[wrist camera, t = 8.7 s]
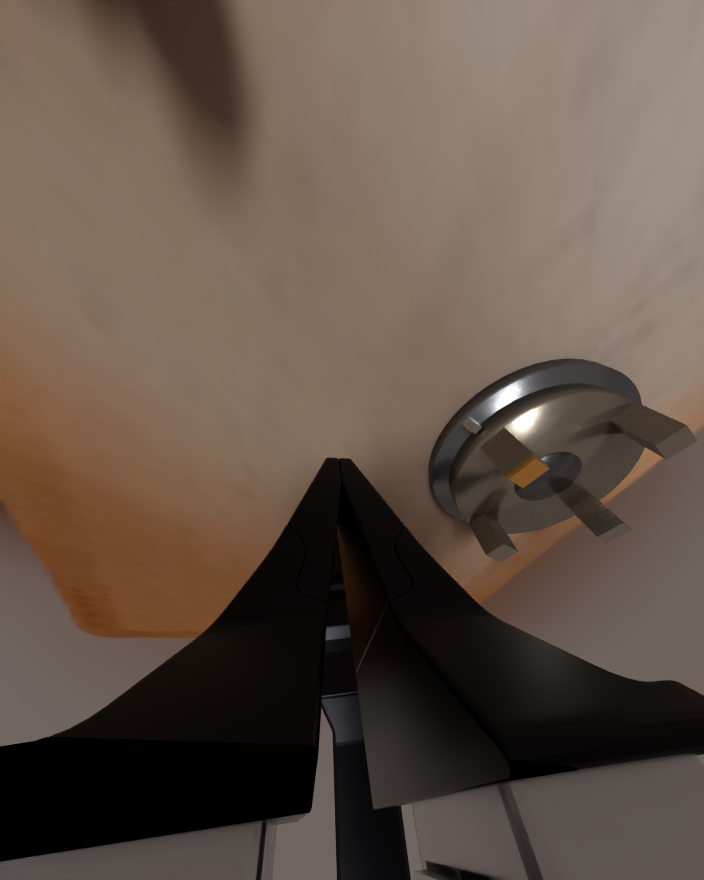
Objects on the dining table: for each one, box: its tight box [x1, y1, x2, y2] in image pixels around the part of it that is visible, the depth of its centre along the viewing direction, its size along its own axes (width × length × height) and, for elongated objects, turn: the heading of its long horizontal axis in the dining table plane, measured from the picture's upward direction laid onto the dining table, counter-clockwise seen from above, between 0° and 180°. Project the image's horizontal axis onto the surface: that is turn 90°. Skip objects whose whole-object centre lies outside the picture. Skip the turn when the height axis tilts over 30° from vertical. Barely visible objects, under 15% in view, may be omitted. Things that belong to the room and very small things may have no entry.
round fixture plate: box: [449, 383, 697, 562], centre depth 24 cm, size 17×17×6 cm
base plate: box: [429, 359, 642, 523], centre depth 26 cm, size 20×20×2 cm
